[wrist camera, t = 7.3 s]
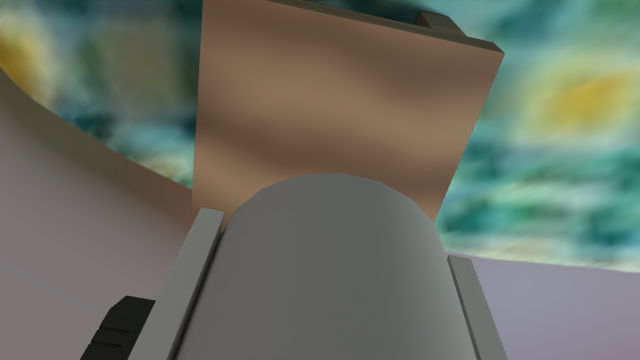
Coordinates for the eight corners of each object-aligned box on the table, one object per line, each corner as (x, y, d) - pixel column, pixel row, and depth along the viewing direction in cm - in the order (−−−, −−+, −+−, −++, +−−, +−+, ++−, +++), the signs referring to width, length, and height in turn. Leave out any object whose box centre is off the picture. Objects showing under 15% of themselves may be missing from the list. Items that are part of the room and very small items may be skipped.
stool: (247, -37, 28) (203, -14, 20) (459, 10, 29) (505, 53, 21) (227, 153, 36) (190, 230, 27) (397, 187, 36) (412, 272, 28)
